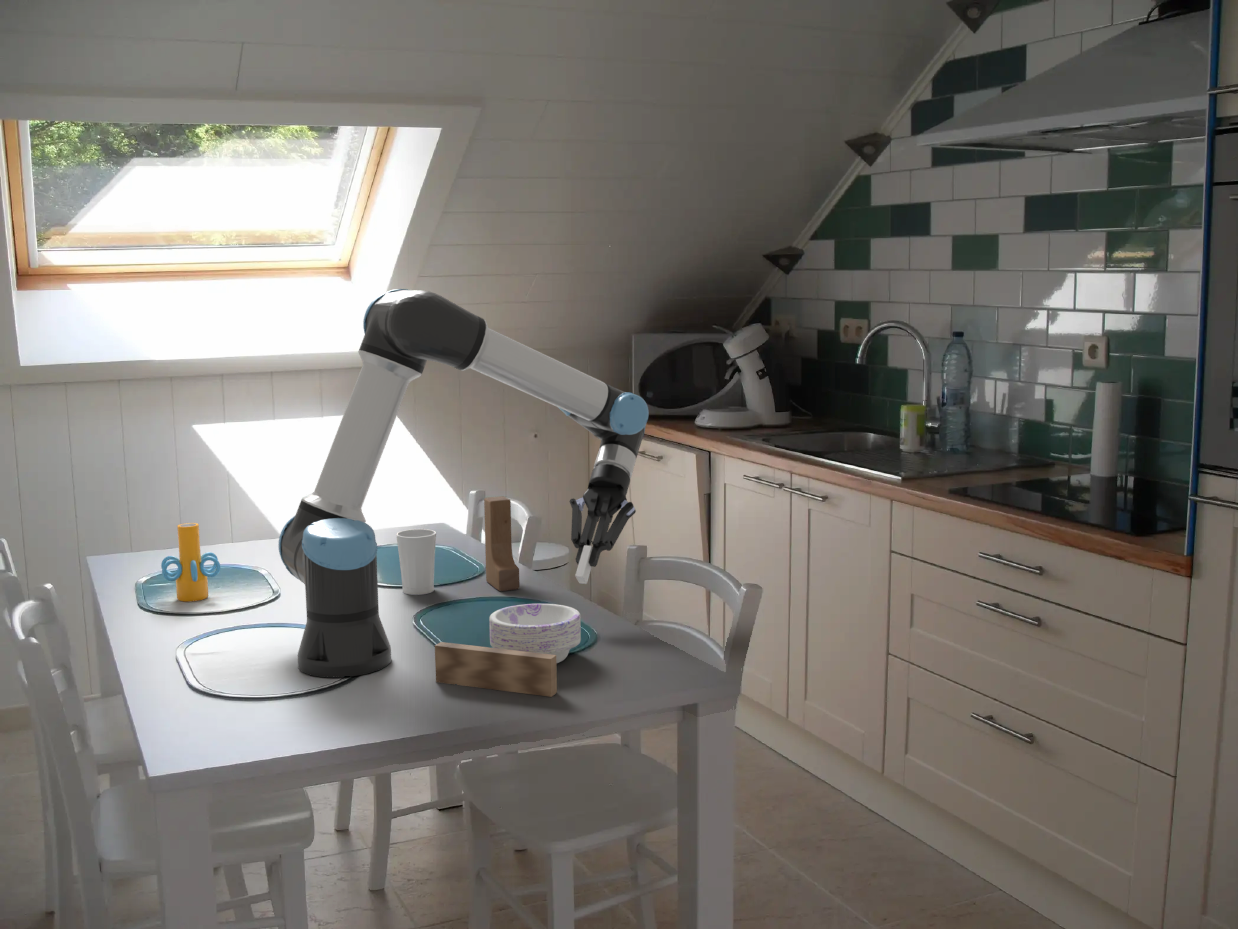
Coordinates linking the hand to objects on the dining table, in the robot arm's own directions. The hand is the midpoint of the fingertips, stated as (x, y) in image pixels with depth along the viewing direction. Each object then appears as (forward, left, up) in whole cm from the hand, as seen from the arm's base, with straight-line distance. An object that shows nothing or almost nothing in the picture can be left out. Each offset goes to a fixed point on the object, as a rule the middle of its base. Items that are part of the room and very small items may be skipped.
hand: (581, 579), depth 216 cm
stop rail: (-23, -24, -9) cm, 35 cm away
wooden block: (-5, +34, -9) cm, 36 cm away
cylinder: (-65, +49, -9) cm, 82 cm away
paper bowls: (-13, -14, -9) cm, 21 cm away
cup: (-22, +37, -9) cm, 44 cm away
